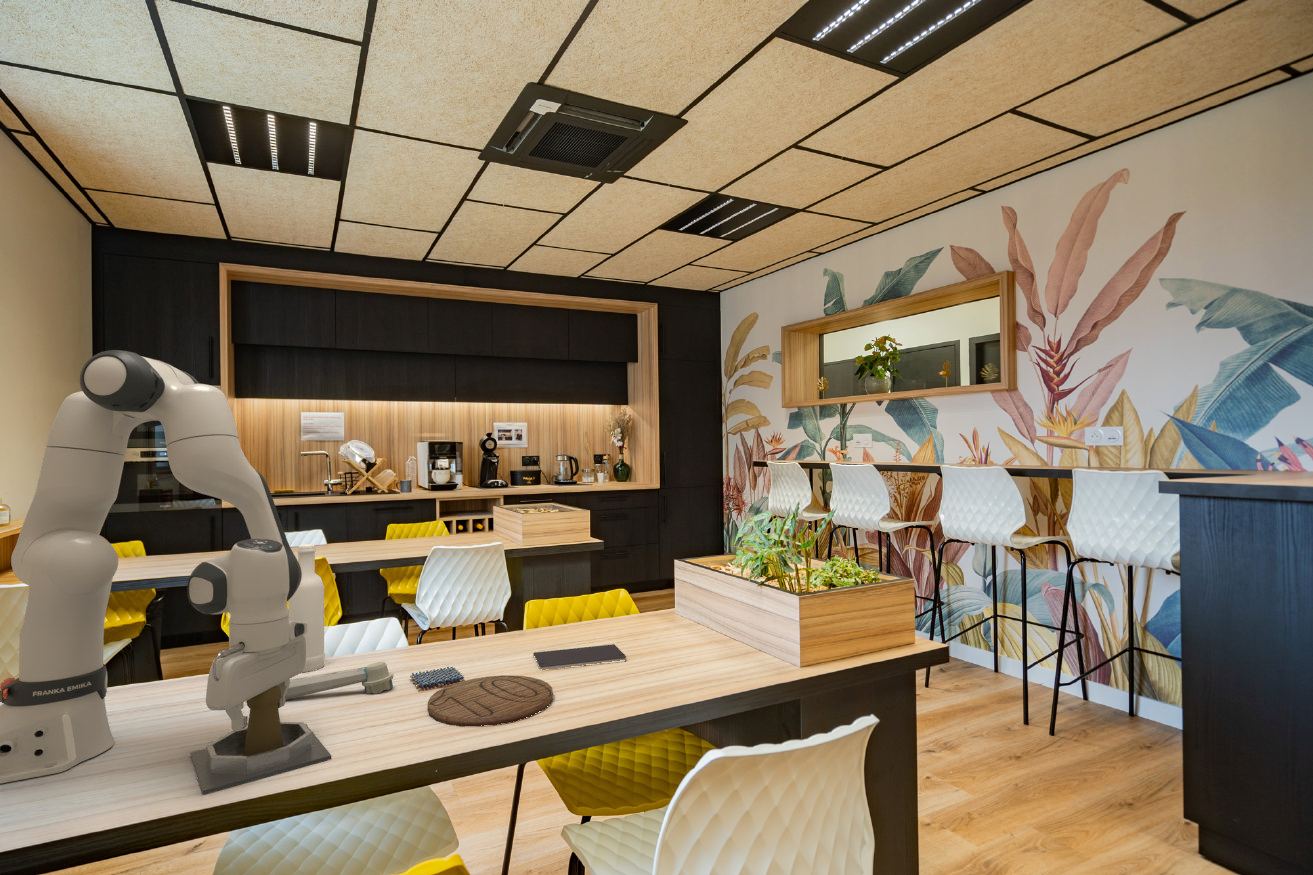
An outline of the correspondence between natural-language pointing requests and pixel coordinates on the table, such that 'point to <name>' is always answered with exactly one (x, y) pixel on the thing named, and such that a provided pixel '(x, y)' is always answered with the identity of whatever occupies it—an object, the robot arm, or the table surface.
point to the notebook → (578, 656)
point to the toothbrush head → (343, 681)
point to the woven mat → (436, 678)
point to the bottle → (310, 608)
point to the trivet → (490, 700)
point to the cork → (264, 723)
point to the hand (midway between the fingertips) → (259, 717)
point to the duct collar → (255, 758)
